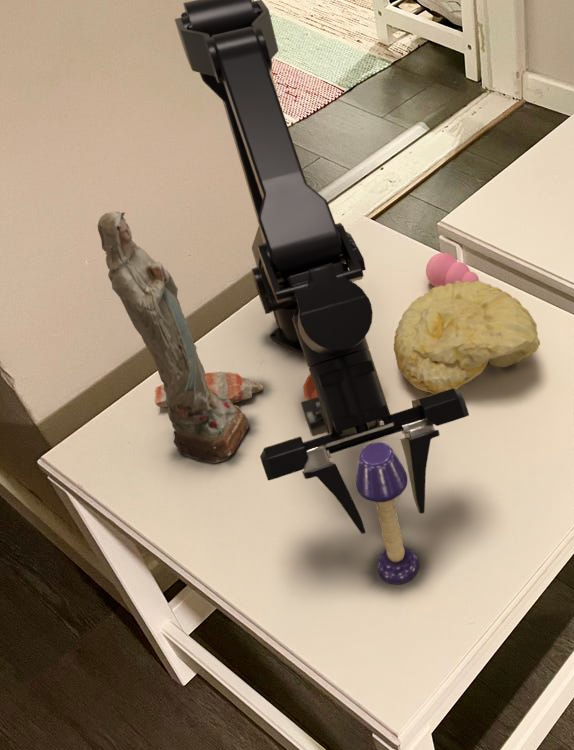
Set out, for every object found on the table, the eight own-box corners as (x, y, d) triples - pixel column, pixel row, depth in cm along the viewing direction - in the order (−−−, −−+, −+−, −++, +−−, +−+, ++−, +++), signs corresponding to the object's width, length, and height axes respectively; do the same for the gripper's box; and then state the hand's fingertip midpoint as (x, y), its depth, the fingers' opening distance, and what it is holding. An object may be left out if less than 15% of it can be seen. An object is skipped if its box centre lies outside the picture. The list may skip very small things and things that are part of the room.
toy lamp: (369, 554, 92) (341, 444, 79) (412, 538, 92) (391, 427, 80) (385, 590, 89) (359, 483, 76) (429, 573, 90) (411, 464, 77)
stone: (150, 405, 104) (155, 372, 107) (157, 418, 106) (162, 385, 109) (256, 396, 104) (259, 363, 107) (262, 409, 106) (264, 377, 109)
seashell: (443, 330, 116) (368, 380, 106) (448, 252, 109) (368, 297, 99) (556, 377, 109) (487, 435, 99) (568, 297, 102) (495, 351, 92)
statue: (227, 467, 100) (133, 239, 77) (169, 456, 102) (58, 229, 78) (255, 419, 104) (174, 189, 81) (199, 409, 106) (103, 181, 83)
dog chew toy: (432, 244, 114) (480, 267, 112) (443, 252, 118) (490, 274, 117) (417, 277, 115) (465, 300, 113) (429, 284, 119) (475, 306, 117)
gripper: (422, 338, 91) (469, 485, 93) (241, 394, 87) (293, 545, 89) (442, 325, 80) (494, 493, 82) (236, 388, 77) (295, 561, 78)
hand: (392, 523), depth 83 cm, fingers open, 5 cm apart
